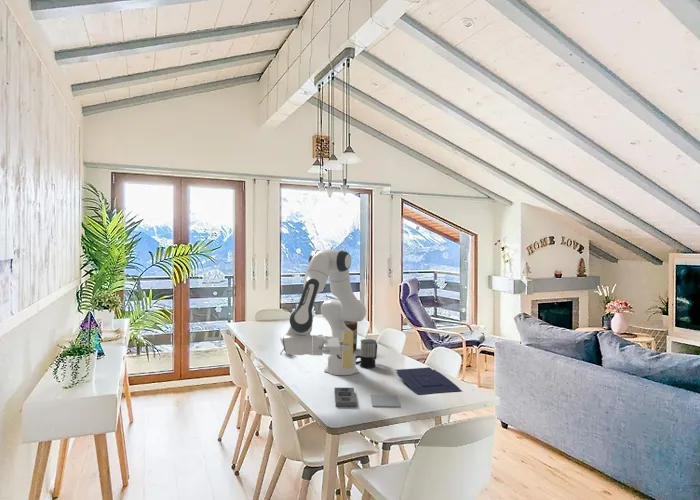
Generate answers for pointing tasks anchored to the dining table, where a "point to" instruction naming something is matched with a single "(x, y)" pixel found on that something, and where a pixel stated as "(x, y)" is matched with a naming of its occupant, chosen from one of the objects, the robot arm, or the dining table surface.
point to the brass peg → (347, 354)
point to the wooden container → (353, 327)
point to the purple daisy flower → (282, 344)
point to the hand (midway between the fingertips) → (349, 345)
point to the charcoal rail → (345, 397)
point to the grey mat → (385, 401)
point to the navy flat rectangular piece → (426, 380)
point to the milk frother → (368, 353)
